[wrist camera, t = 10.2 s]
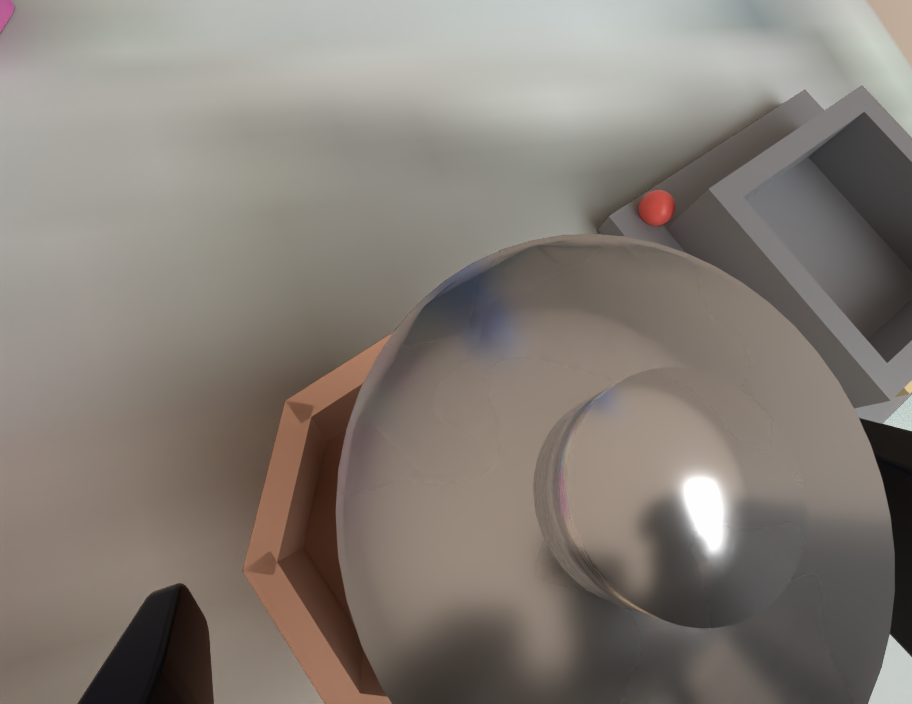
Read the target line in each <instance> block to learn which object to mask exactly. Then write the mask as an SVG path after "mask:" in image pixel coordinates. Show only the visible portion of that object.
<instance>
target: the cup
mask: <svg viewBox="0 0 912 704" xmlns="http://www.w3.org/2000/svg"><path fill="white" fill-rule="evenodd" d="M392 334H393V333H392ZM392 334H390V335H388V336H387V337H385V338H384V339H382V340H380V341H379V342H377V343H376V344H374V345H373V346H371V347H369V348H368V349H366V350H365V351H363V352H361V353H360V354H358V355H357V356H355V357H354V358H352V359H350V360H349V361H347V362H346V363H344V364H342V365H341V366H339V367H338V368H336V369H335V370H333V371H331V372H330V373H328V374H327V375H325V376H323V377H322V378H320V379H319V380H317V381H315V382H314V383H312V384H311V385H309V386H308V387H306V388H304V389H303V390H301V391H300V392H298V393H296V394H295V395H293V396H292V397H290V398H289V399H287V400H285V404H284V408H283V412H282V416H281V420H280V424H279V428H278V432H277V436H276V440H275V444H274V448H273V452H272V456H271V460H270V464H269V468H268V472H267V476H266V480H265V484H264V488H263V491H262V495H261V499H260V503H259V507H258V511H257V515H256V519H255V523H254V527H253V531H252V535H251V539H250V543H249V547H248V551H247V555H246V559H245V563H244V567H243V573H244V574H245V576H246V577H247V579H248V581H249V582H250V584H251V586H252V587H253V589H254V590H255V592H256V594H257V595H258V597H259V598H260V600H261V602H262V603H263V605H264V607H265V608H266V610H267V611H268V613H269V615H270V616H271V618H272V619H273V621H274V623H275V624H276V626H277V628H278V629H279V631H280V632H281V634H282V636H283V637H284V639H285V641H286V642H287V644H288V645H289V647H290V649H291V650H292V652H293V653H294V655H295V657H296V658H297V660H298V662H299V663H300V665H301V666H302V668H303V670H304V671H305V673H306V674H307V676H308V678H309V679H310V681H311V683H312V684H313V686H314V687H315V689H316V691H317V692H318V694H319V696H320V697H321V699H322V700H323V702H324V704H392V703H391V701H390V700H389V698H388V697H387V695H386V694H385V692H384V691H383V689H382V687H381V685H380V683H379V681H378V679H377V677H376V675H375V673H374V671H373V669H372V666H371V664H370V662H369V660H368V658H367V656H366V654H365V652H364V650H363V648H362V646H361V643H360V640H359V637H358V634H357V631H356V628H355V624H354V621H353V618H352V615H351V612H350V609H349V606H348V603H347V599H346V594H345V589H344V584H343V579H342V573H341V568H340V563H339V558H338V544H337V528H336V498H337V483H338V469H339V464H340V459H341V454H342V449H343V444H344V439H345V434H346V429H347V426H348V423H349V420H350V417H351V414H352V411H353V409H354V406H355V403H356V400H357V397H358V394H359V391H360V389H361V387H362V385H363V383H364V381H365V379H366V377H367V375H368V373H369V371H370V369H371V367H372V365H373V363H374V361H375V359H376V357H377V356H378V354H379V353H380V351H381V350H382V348H383V347H384V346H385V344H386V343H387V341H388V340H389V338H390V337H391V335H392Z"/></svg>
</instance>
